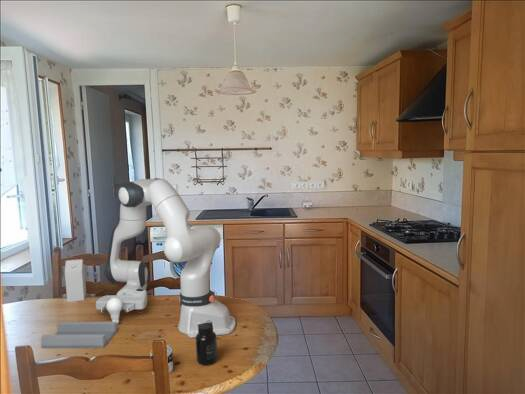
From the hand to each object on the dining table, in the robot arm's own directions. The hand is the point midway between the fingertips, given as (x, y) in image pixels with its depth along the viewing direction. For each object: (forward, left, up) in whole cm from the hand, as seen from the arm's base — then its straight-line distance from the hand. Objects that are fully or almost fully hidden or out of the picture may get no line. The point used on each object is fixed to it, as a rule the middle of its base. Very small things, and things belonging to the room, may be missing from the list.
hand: (114, 310), depth 147 cm
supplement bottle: (-41, +26, -6) cm, 49 cm away
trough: (+8, +12, -6) cm, 15 cm away
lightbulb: (0, 0, -6) cm, 6 cm away
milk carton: (+29, -26, -6) cm, 40 cm away
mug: (-28, +30, -6) cm, 41 cm away
